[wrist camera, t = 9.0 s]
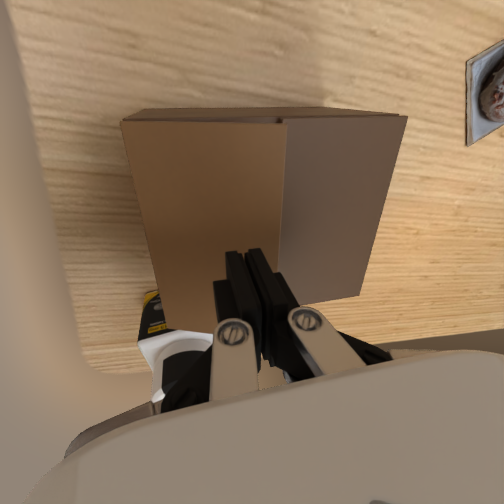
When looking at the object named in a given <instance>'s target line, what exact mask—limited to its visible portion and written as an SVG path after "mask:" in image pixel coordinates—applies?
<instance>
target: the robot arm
mask: <svg viewBox="0 0 504 504" xmlns="http://www.w3.org/2000/svg"><path fill="white" fill-rule="evenodd" d="M225 264H226V279H224V280H217V281H213V292H214V301H215V309H216V315H217V321H218V324H217V326H216V327H215V329H214V332H213V343H212V344H211V345H210V347H209V348H208V349H207V350H206V351H205V352H204V353H203V354H202V355H201V356H200V357H199V358H198V360H197V361H196V362H195V363H194V364H193V365H192V366H191V367H190V368H189V369H188V370H187V371H186V373H185V374H184V375H183V376H182V377H181V378H180V379H179V380H178V381H177V382H176V383H175V384H174V386H173V387H172V388H171V389H170V390H169V391H168V392H167V394H166V395H165V396H164V398H163V399H162V400H159V401H157V402H155V403H153V402H152V400H151V401H149V402H147V403H145V404H143V405H140V406H138V407H135V408H133V409H131V410H129V411H126V412H124V413H122V414H120V415H117V416H115V417H113V418H110V419H108V420H106V421H104V422H101V423H99V424H97V425H95V426H92V427H90V428H88V429H86V430H85V431H83V432H81V433H80V434H79V435H78V436H77V437H76V438H75V439H74V440H73V441H72V442H71V444H70V445H69V447H68V449H67V450H66V453H65V456H64V459H63V460H62V461H61V462H60V463H58V464H57V465H56V466H54V467H53V468H52V469H51V470H50V471H49V472H48V473H47V474H45V475H44V476H43V477H42V478H41V480H40V481H39V482H38V483H37V484H36V485H35V486H34V488H33V489H32V490H31V492H30V493H29V494H28V496H27V497H26V499H25V500H24V502H23V504H504V355H501V354H496V353H492V352H485V351H478V350H451V351H438V350H401V349H400V350H399V349H388V351H387V352H385V351H383V350H381V349H380V348H378V347H376V346H373V345H371V344H368V343H366V342H364V341H361V340H359V339H356V338H354V337H351V336H349V335H347V334H344V333H342V332H339V331H337V330H336V329H335V328H334V327H333V326H332V325H331V323H330V322H329V321H328V320H327V319H326V318H325V317H324V315H323V314H322V313H320V312H319V311H318V310H316V309H314V308H311V307H305V306H301V307H300V305H299V304H298V302H297V300H296V298H295V296H294V295H293V293H292V291H291V289H290V288H289V286H288V284H287V282H286V280H285V279H284V277H283V275H282V274H281V272H275V273H273V271H272V269H271V267H270V265H269V264H268V262H267V260H266V258H265V256H264V254H263V252H262V250H261V248H253V249H248V252H245V253H244V258H243V255H242V253H238V252H237V251H228V252H225ZM261 353H262V356H263V359H264V360H268V361H269V364H270V367H274V366H276V367H278V368H280V369H282V370H283V375H284V378H285V380H286V382H287V383H288V384H284V385H280V386H276V387H271V388H267V389H262V390H259V382H258V373H259V371H260V368H261Z"/></svg>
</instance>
